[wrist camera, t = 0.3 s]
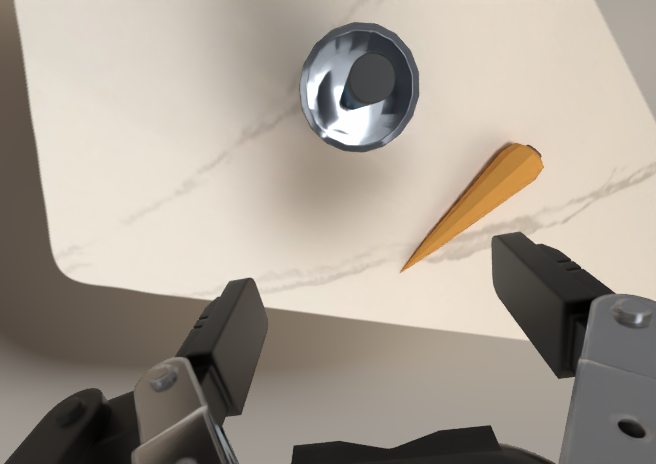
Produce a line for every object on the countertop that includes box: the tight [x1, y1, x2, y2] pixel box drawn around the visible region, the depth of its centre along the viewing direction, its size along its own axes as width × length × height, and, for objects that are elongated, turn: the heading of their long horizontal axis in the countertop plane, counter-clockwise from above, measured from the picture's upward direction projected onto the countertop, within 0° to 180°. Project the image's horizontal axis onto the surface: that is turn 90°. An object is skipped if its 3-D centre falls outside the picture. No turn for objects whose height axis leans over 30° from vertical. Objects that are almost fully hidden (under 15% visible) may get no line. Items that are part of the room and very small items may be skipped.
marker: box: [341, 52, 395, 110], centre depth 27 cm, size 3×3×18 cm
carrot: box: [400, 143, 544, 273], centre depth 38 cm, size 20×4×4 cm, turn 141°
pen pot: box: [299, 22, 419, 152], centre depth 31 cm, size 10×10×8 cm
